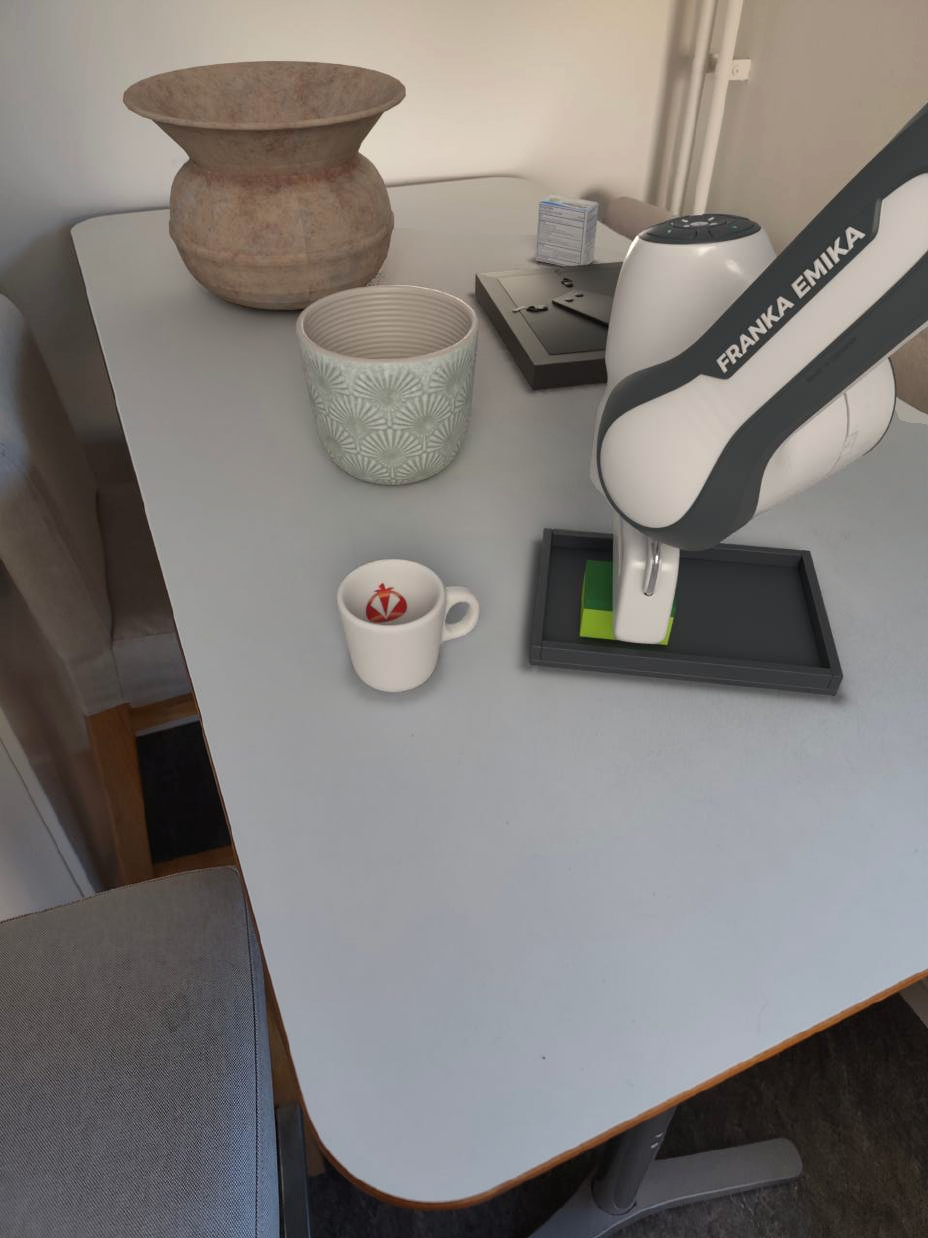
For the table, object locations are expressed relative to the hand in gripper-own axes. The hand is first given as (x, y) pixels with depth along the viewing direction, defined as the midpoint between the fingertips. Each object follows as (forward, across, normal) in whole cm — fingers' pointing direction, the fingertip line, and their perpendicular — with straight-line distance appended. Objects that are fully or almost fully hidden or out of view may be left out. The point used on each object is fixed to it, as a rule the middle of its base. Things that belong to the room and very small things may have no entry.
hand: (626, 604), depth 70 cm
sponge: (+2, 0, 0) cm, 2 cm away
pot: (+3, +64, +46) cm, 79 cm away
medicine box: (+3, +81, +9) cm, 82 cm away
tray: (+3, +2, -4) cm, 6 cm away
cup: (+3, -7, +16) cm, 18 cm away
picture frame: (+3, +57, +5) cm, 58 cm away
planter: (+3, +22, +24) cm, 33 cm away
